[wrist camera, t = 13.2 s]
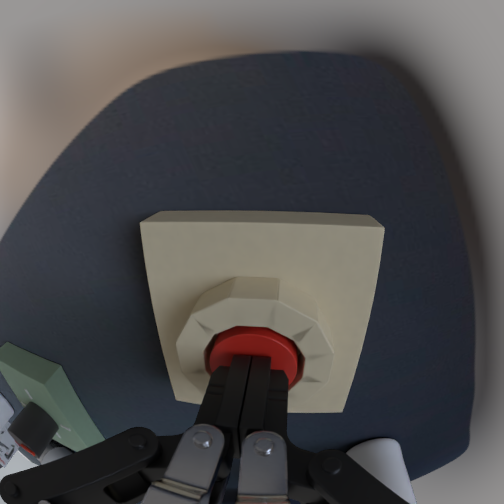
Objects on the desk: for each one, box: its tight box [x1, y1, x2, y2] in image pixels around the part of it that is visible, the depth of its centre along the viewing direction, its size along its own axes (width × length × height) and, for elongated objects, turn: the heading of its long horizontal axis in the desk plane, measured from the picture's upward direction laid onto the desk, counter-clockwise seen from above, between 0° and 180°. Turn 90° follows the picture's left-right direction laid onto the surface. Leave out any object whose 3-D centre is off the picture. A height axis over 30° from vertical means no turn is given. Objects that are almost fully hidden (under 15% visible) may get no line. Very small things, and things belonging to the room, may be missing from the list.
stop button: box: [210, 326, 297, 385], centre depth 12 cm, size 4×4×2 cm
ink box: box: [0, 421, 20, 468], centre depth 31 cm, size 9×5×12 cm, turn 0°
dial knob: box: [7, 402, 59, 459], centre depth 17 cm, size 4×4×5 cm
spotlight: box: [37, 443, 73, 465], centre depth 27 cm, size 8×11×8 cm
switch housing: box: [140, 211, 384, 413], centre depth 13 cm, size 11×10×4 cm
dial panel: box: [0, 342, 105, 452], centre depth 21 cm, size 14×10×3 cm
